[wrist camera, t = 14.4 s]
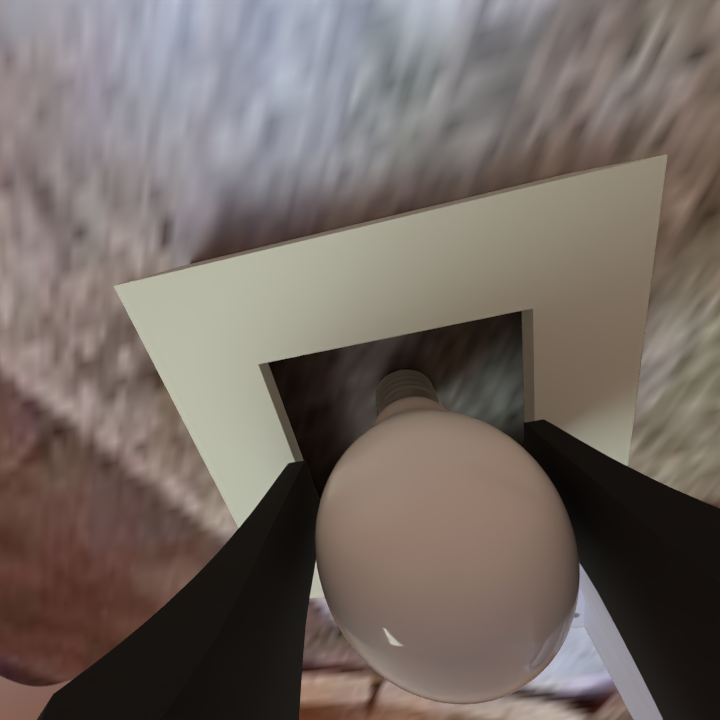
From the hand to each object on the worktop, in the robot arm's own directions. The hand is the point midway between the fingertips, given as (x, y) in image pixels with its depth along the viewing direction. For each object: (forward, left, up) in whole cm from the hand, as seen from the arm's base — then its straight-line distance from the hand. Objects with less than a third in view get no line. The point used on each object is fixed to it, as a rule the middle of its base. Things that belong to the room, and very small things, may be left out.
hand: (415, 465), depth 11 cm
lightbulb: (0, 0, -6) cm, 6 cm away
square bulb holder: (0, 0, -5) cm, 5 cm away
